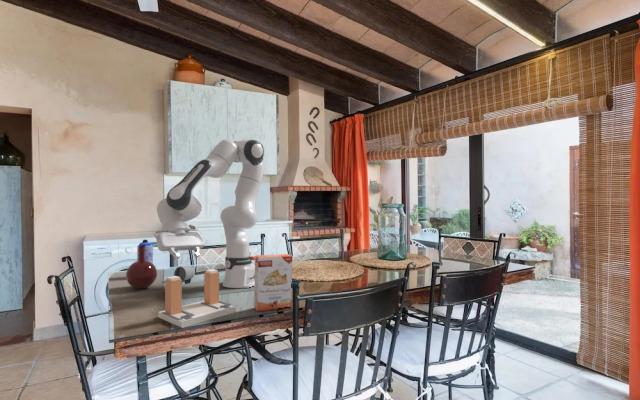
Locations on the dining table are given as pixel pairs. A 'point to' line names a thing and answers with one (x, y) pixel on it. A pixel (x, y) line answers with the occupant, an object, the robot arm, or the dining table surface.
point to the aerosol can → (146, 251)
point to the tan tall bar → (211, 286)
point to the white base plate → (197, 313)
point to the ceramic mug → (184, 272)
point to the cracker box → (272, 281)
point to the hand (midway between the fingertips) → (187, 257)
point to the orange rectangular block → (173, 295)
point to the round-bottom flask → (141, 272)
